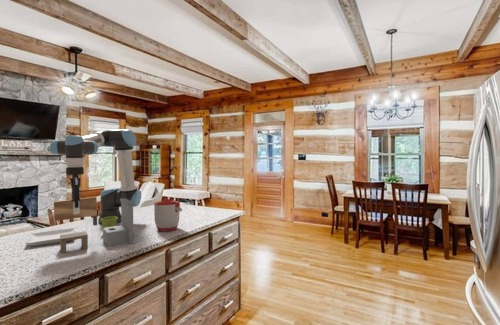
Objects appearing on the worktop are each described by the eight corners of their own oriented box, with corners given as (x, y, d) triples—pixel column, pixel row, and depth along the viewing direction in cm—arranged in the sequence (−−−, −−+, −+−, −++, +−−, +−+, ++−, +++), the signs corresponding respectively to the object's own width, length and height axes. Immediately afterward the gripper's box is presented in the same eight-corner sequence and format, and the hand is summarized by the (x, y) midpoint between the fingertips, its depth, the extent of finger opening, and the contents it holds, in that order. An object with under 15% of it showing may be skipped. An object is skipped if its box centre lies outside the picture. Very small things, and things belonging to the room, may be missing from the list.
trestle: (60, 248, 140) (60, 234, 139) (85, 244, 146) (85, 231, 146) (61, 253, 133) (61, 238, 133) (87, 248, 140) (87, 234, 140)
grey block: (102, 239, 156) (101, 200, 155) (125, 235, 163) (125, 198, 163) (108, 248, 141) (108, 205, 140) (134, 243, 148) (133, 202, 147)
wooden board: (54, 229, 136) (53, 201, 136) (96, 223, 147) (95, 197, 146) (54, 231, 134) (53, 202, 133) (97, 225, 145) (96, 198, 144)
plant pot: (121, 231, 172) (121, 217, 171) (108, 235, 163) (107, 220, 163) (110, 229, 176) (110, 216, 175) (97, 233, 167) (96, 219, 167)
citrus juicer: (176, 233, 167) (175, 199, 166) (149, 232, 170) (148, 199, 169) (186, 226, 182) (186, 196, 182) (161, 225, 185) (161, 195, 185)
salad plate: (25, 249, 140) (25, 242, 140) (31, 238, 158) (31, 232, 158) (75, 242, 152) (75, 236, 151) (75, 233, 170) (75, 227, 169)
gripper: (64, 166, 143) (66, 211, 144) (67, 167, 131) (68, 217, 131) (81, 165, 148) (82, 209, 149) (85, 167, 135) (86, 215, 136)
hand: (76, 213), depth 140 cm, fingers closed on wooden board, 3 cm apart
